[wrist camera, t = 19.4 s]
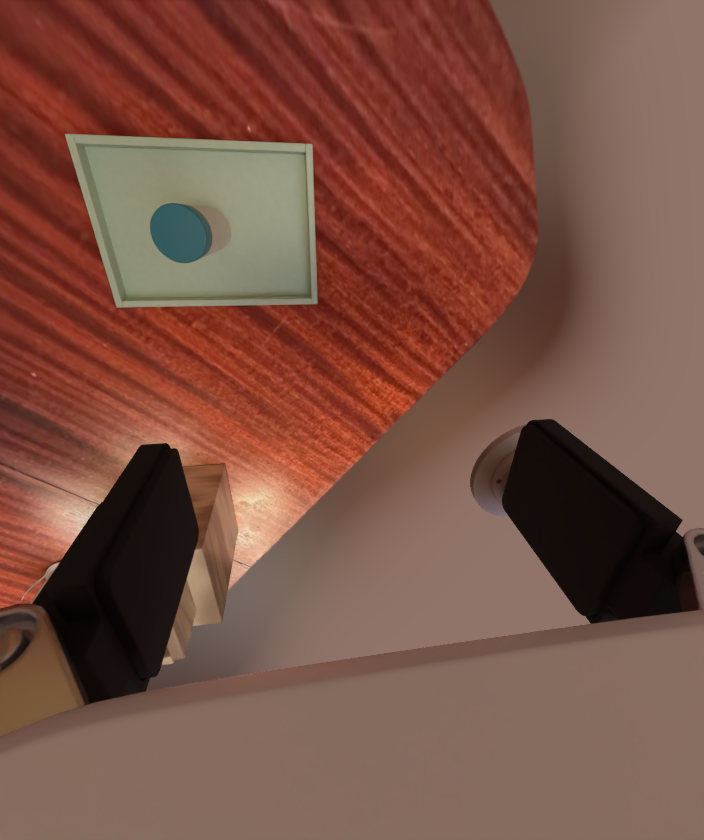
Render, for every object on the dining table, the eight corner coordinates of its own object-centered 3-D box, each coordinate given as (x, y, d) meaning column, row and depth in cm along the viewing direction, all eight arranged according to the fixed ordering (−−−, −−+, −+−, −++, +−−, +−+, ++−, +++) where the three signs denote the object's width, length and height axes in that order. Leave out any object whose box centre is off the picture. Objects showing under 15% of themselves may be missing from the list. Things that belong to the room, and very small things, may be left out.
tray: (311, 147, 32) (312, 143, 30) (316, 300, 39) (317, 304, 37) (77, 138, 30) (64, 133, 28) (124, 303, 36) (116, 307, 34)
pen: (227, 207, 33) (201, 203, 24) (233, 250, 35) (211, 263, 25) (186, 206, 33) (142, 202, 23) (194, 250, 34) (157, 263, 25)
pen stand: (225, 463, 47) (189, 595, 31) (238, 530, 53) (213, 670, 37) (126, 470, 45) (33, 613, 29) (151, 538, 51) (85, 688, 35)
